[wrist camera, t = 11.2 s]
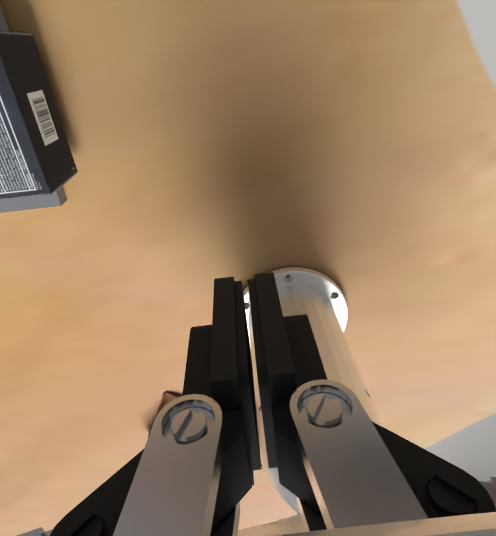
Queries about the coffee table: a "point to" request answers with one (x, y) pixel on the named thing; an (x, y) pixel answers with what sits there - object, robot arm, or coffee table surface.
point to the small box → (29, 123)
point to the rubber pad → (35, 200)
